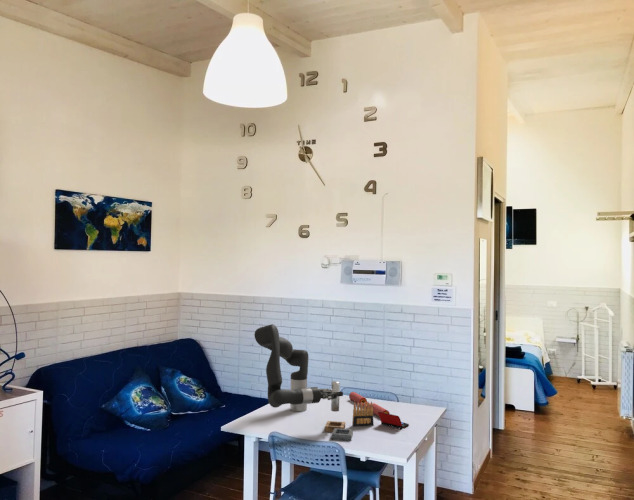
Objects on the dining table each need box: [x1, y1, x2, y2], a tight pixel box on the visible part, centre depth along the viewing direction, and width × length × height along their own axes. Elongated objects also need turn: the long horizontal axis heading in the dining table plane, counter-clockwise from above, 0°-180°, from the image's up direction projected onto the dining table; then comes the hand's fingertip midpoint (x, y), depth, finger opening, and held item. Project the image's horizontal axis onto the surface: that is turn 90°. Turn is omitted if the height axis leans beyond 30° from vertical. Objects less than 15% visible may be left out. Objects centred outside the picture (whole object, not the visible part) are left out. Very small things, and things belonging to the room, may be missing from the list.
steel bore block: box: [331, 428, 354, 441], centre depth 256 cm, size 9×9×2 cm
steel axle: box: [330, 380, 341, 413], centre depth 268 cm, size 4×4×14 cm
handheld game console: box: [378, 412, 410, 430], centre depth 274 cm, size 12×11×7 cm
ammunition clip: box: [352, 401, 375, 427], centre depth 274 cm, size 11×2×12 cm, turn 101°
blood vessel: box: [348, 391, 391, 417], centre depth 306 cm, size 42×5×5 cm, turn 21°
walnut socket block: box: [324, 420, 346, 433], centre depth 268 cm, size 9×9×2 cm
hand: (340, 392), depth 269 cm, fingers closed on steel axle, 4 cm apart
